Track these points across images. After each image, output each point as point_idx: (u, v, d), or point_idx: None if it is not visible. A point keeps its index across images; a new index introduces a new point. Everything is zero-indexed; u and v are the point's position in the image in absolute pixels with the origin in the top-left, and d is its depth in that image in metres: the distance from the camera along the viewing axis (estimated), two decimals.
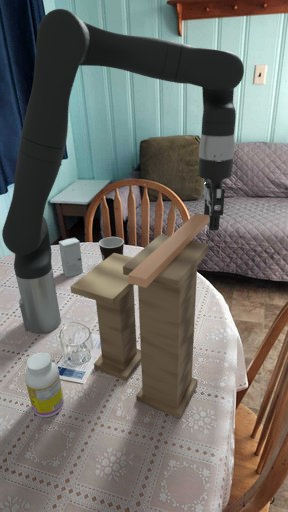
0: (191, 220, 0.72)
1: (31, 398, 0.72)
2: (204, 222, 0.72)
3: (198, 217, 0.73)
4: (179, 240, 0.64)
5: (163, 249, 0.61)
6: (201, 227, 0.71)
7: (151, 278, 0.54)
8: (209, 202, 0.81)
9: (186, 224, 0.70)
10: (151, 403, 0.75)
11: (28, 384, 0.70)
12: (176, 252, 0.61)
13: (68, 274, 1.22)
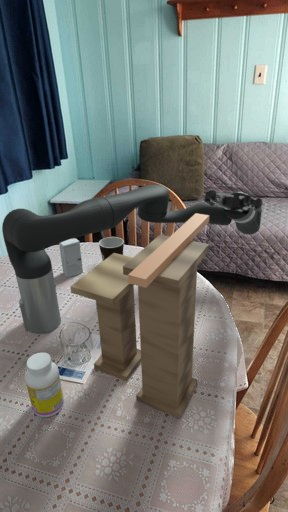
0: (191, 220, 0.72)
1: (31, 398, 0.72)
2: (204, 222, 0.72)
3: (198, 217, 0.73)
4: (179, 240, 0.64)
5: (163, 249, 0.61)
6: (201, 227, 0.71)
7: (151, 278, 0.54)
8: None
9: (186, 224, 0.70)
10: (151, 403, 0.75)
11: (28, 384, 0.70)
12: (176, 252, 0.61)
13: (68, 274, 1.22)
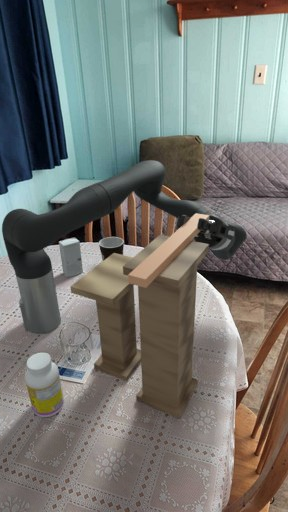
0: (191, 220, 0.72)
1: (31, 398, 0.72)
2: None
3: (198, 217, 0.73)
4: (179, 240, 0.64)
5: (163, 249, 0.61)
6: None
7: (151, 278, 0.54)
8: None
9: (186, 224, 0.70)
10: (151, 403, 0.75)
11: (28, 384, 0.70)
12: (176, 252, 0.61)
13: (68, 274, 1.22)
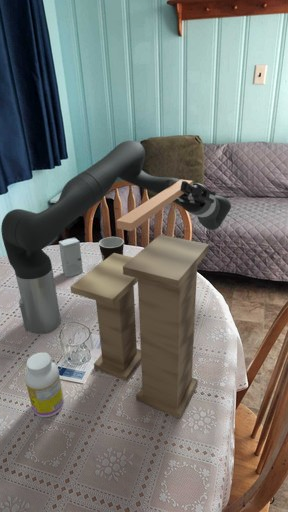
0: (176, 184, 0.81)
1: (31, 398, 0.72)
2: None
3: None
4: (163, 198, 0.73)
5: (149, 204, 0.70)
6: None
7: (136, 224, 0.64)
8: None
9: (171, 187, 0.80)
10: (151, 403, 0.75)
11: (28, 384, 0.70)
12: (160, 206, 0.71)
13: (68, 274, 1.22)
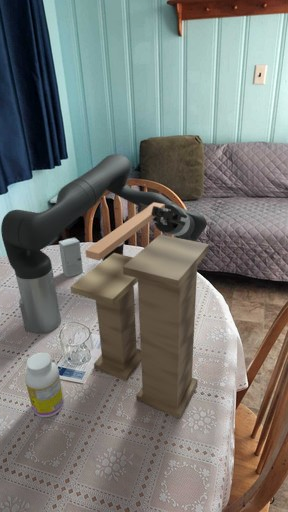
0: (148, 208, 0.85)
1: (31, 398, 0.72)
2: None
3: (154, 205, 0.86)
4: (134, 224, 0.77)
5: (119, 231, 0.73)
6: None
7: (105, 253, 0.67)
8: None
9: (143, 211, 0.83)
10: (151, 403, 0.75)
11: (28, 384, 0.70)
12: (129, 233, 0.74)
13: (68, 274, 1.22)
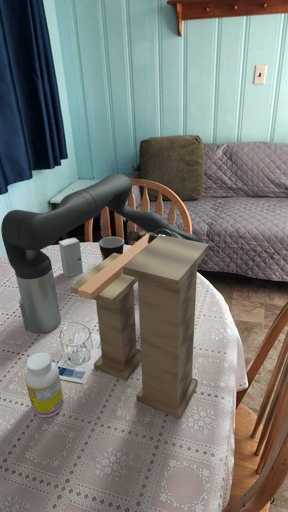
0: (141, 240, 0.85)
1: (31, 398, 0.72)
2: None
3: (148, 237, 0.87)
4: (127, 259, 0.77)
5: (111, 267, 0.74)
6: None
7: (97, 292, 0.68)
8: None
9: (136, 244, 0.84)
10: (151, 403, 0.75)
11: (28, 384, 0.70)
12: (122, 269, 0.75)
13: (68, 274, 1.22)
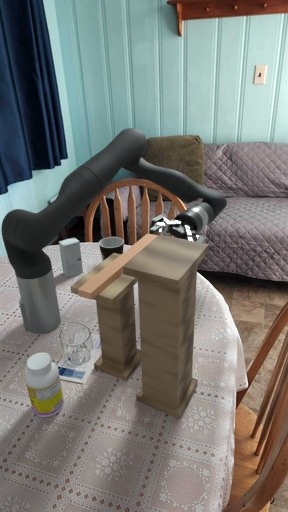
0: (141, 240, 0.85)
1: (31, 398, 0.72)
2: None
3: (148, 237, 0.87)
4: (127, 259, 0.77)
5: (111, 267, 0.74)
6: None
7: (97, 292, 0.68)
8: None
9: (136, 244, 0.84)
10: (151, 403, 0.75)
11: (28, 384, 0.70)
12: (122, 269, 0.75)
13: (68, 274, 1.22)
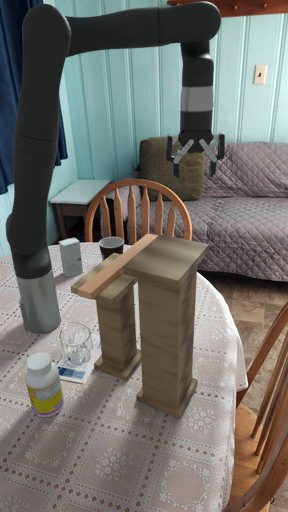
0: (141, 240, 0.85)
1: (31, 398, 0.72)
2: None
3: (148, 237, 0.87)
4: (127, 259, 0.77)
5: (111, 267, 0.74)
6: None
7: (97, 292, 0.68)
8: (178, 149, 0.89)
9: (136, 244, 0.84)
10: (151, 403, 0.75)
11: (28, 384, 0.70)
12: (122, 269, 0.75)
13: (68, 274, 1.22)
